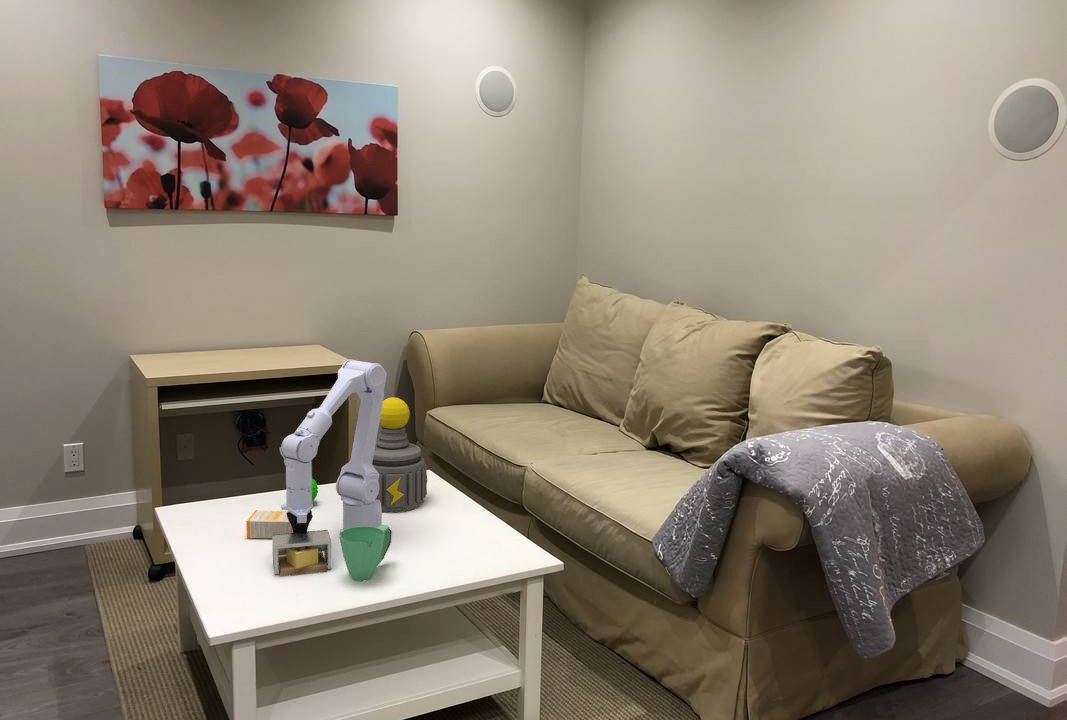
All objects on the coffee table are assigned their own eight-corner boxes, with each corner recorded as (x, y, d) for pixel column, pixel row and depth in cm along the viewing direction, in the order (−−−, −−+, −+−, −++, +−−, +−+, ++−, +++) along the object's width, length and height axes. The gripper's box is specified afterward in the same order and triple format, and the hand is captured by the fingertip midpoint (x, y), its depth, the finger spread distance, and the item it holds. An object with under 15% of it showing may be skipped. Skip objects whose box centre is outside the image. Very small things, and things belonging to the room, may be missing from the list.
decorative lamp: (360, 515, 237) (360, 405, 232) (356, 493, 255) (356, 391, 250) (430, 511, 241) (431, 404, 237) (421, 490, 259) (423, 390, 255)
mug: (366, 589, 191) (366, 545, 190) (330, 579, 196) (330, 536, 194) (405, 566, 204) (406, 524, 202) (371, 557, 208) (371, 517, 207)
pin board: (319, 546, 214) (318, 524, 214) (326, 571, 200) (326, 548, 199) (276, 550, 211) (275, 528, 210) (280, 576, 196) (280, 553, 195)
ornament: (292, 499, 248) (291, 465, 246) (321, 500, 248) (321, 465, 246) (284, 509, 240) (283, 473, 238) (314, 510, 240) (313, 474, 238)
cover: (328, 557, 207) (327, 529, 206) (331, 568, 201) (331, 540, 200) (272, 562, 203) (272, 534, 202) (274, 574, 197) (274, 545, 196)
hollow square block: (307, 556, 204) (307, 541, 204) (318, 563, 200) (318, 548, 200) (286, 561, 201) (286, 546, 200) (296, 568, 197) (296, 553, 197)
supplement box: (246, 539, 218) (299, 540, 218) (245, 520, 217) (299, 521, 217) (255, 527, 226) (307, 528, 226) (255, 509, 225) (307, 510, 225)
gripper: (279, 478, 209) (280, 533, 211) (283, 497, 196) (284, 555, 198) (309, 476, 212) (310, 530, 214) (315, 494, 198) (316, 552, 200)
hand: (299, 542), depth 206 cm, fingers closed
